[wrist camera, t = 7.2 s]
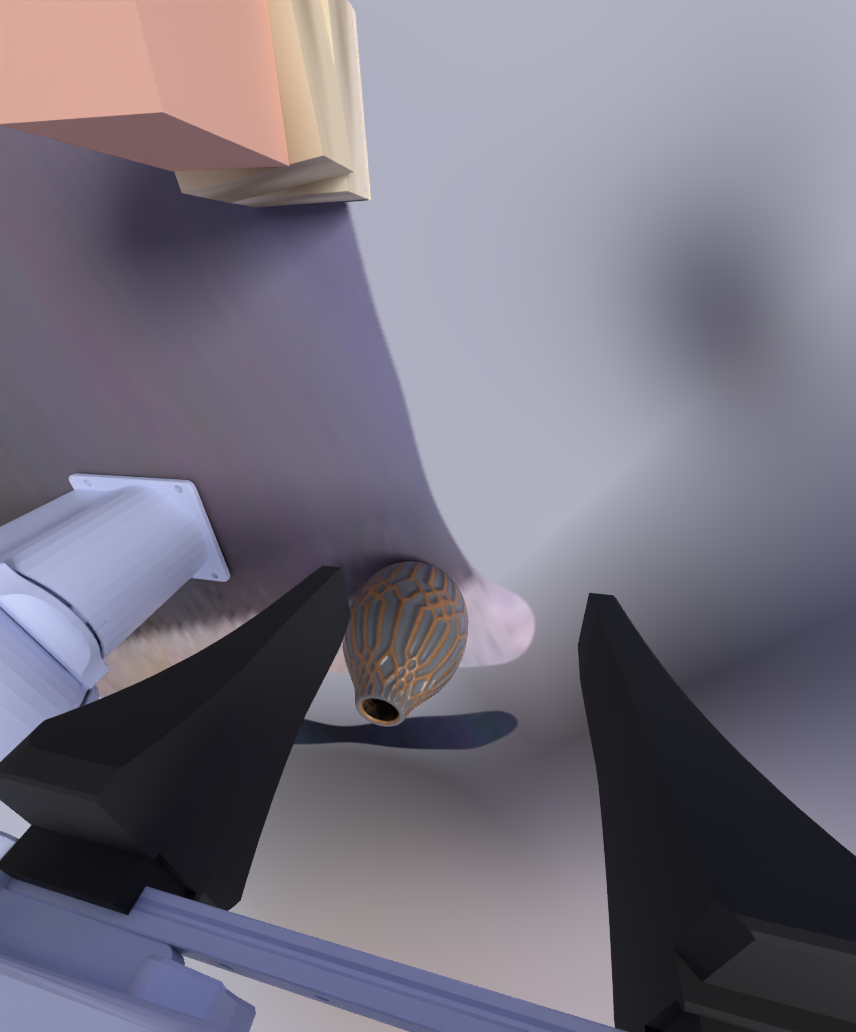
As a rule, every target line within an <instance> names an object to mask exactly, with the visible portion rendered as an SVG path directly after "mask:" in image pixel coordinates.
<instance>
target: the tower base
mask: <svg viewBox="0 0 856 1032" xmlns="http://www.w3.org/2000/svg"><path fill="white" fill-rule="evenodd" d="M322 1H323V7H324V12H325V18H326V23H327V29H328V34H329V39H330V45H331V50H332V56H333V61H334V66H335V72H336V76H337V82H338V87H339V93H340V98H341V104H342V109H343V114H344V120H345V125H346V131H347V136H348V141H349V147H350V152H351V158H352V163H353V169H354V172H352V173H348V174H344V175H340V176H336V177H332V178H328V179H324V180H320V181H316V182H312V183H308V184H304V185H300V186H296V187H292V188H288V189H284V190H280V191H276V192H272V193H268V194H264V195H260V196H256V197H252V198H248V199H244V200H240V201H236V202H232V203H235V204H240V205H245V206H250V207H268V206H282V205H296V204H310V203H324V202H337V201H347V202H355V201H369V200H371V193H370V180H369V168H368V156H367V144H366V133H365V121H364V109H363V97H362V84H361V73H360V62H359V49H358V38H357V26H356V13H355V10H354V9H353V7H352V6H351V4H349V1H348V0H322Z"/></svg>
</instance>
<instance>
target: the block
mask: <svg viewBox="0 0 856 1032" xmlns="http://www.w3.org/2000/svg"><path fill="white" fill-rule="evenodd" d="M0 125H2V126H6V127H9V128H13V129H17V130H20V131H24V132H28V133H32V134H35V135H39V136H43V137H46V138H50V139H54V140H57V141H61V142H65V143H69V144H72V145H76V146H80V147H83V148H87V149H91V150H95V151H98V152H102V153H106V154H109V155H113V156H117V157H121V158H124V159H128V160H132V161H135V162H139V163H143V164H147V165H150V166H154V167H158V168H161V169H165V170H169V171H190V170H213V169H236V168H258V167H281V166H289V158H288V151H287V144H286V137H285V129H284V122H283V115H282V108H281V100H280V93H279V86H278V78H277V71H276V64H275V57H274V49H273V42H272V35H271V28H270V20H269V13H268V6H267V0H0Z"/></svg>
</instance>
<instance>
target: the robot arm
mask: <svg viewBox="0 0 856 1032" xmlns="http://www.w3.org/2000/svg"><path fill="white" fill-rule="evenodd" d="M69 481H70V483H71V485H72V487H73V488H74V490H73V491H71V492H69V493H67V494H65V495H63V496H61V497H59V498H57V499H55V500H53V501H51V502H49V503H47V504H45V505H43V506H41V507H39V508H37V509H35V510H33V511H31V512H29V513H27V514H25V515H23V516H21V517H19V518H17V519H15V520H13V521H11V522H9V523H7V524H5V525H3V526H1V527H0V800H1V801H2V802H4V803H5V804H6V805H7V806H9V807H10V808H11V809H12V810H14V811H15V812H16V813H17V814H19V815H20V816H21V817H22V818H24V819H25V820H26V821H27V822H29V823H30V824H31V826H30V828H29V829H28V830H27V831H26V832H25V833H24V834H23V836H22V837H21V838H20V839H18V838H16V837H14V836H12V835H10V834H7V833H4V832H2V831H0V1032H249V1031H250V1028H251V1025H252V1023H253V1020H254V1017H255V1014H256V1011H255V1007H254V1006H253V1005H251V1004H249V1003H247V1002H246V1001H244V1000H242V999H241V998H239V997H237V996H236V995H234V994H233V993H232V992H230V991H229V990H228V989H226V987H225V986H224V985H223V983H222V982H221V981H219V980H216V979H214V978H211V977H209V976H207V975H205V974H202V973H200V972H198V971H196V970H193V969H191V968H188V967H186V966H185V962H184V958H183V956H186V957H189V958H192V959H195V960H198V961H201V962H204V963H207V964H210V965H213V966H216V967H219V968H222V969H225V970H228V971H231V972H234V973H237V974H240V975H243V976H245V977H249V978H252V979H255V980H257V981H260V982H263V983H266V984H269V985H272V986H275V987H278V988H281V989H284V990H287V991H290V992H293V993H296V994H299V995H302V996H305V997H308V998H311V999H314V1000H317V1001H320V1002H323V1003H326V1004H329V1005H332V1006H335V1007H338V1008H341V1009H344V1010H347V1011H350V1012H353V1013H356V1014H359V1015H362V1016H365V1017H368V1018H371V1019H374V1020H377V1021H379V1022H382V1023H385V1024H388V1025H391V1026H394V1027H397V1028H401V1029H403V1030H406V1031H409V1032H856V856H855V855H853V854H852V853H851V852H850V851H848V850H847V849H846V848H845V847H844V846H842V845H841V844H840V843H839V842H838V841H836V840H835V839H834V838H833V837H832V836H830V835H829V834H828V833H827V832H826V831H825V830H824V829H822V828H821V827H820V826H819V825H818V824H817V823H815V822H814V821H813V820H812V819H811V818H810V817H808V816H807V815H806V814H805V813H804V812H803V811H801V810H800V809H799V808H798V807H797V806H796V805H795V804H793V803H792V802H791V801H790V800H789V799H788V798H787V797H786V796H785V795H784V794H783V793H781V792H780V791H779V790H778V789H777V788H776V787H775V786H774V785H773V784H772V783H771V782H770V781H769V780H768V779H767V778H766V777H764V776H763V775H762V774H761V773H760V772H759V771H758V770H757V769H756V768H755V767H754V766H753V765H752V764H751V763H750V762H748V761H747V760H746V759H745V758H744V757H743V756H742V755H741V754H740V753H739V752H738V751H737V750H736V749H735V748H734V747H733V746H732V745H731V744H730V743H729V742H728V741H727V740H726V739H725V738H724V736H723V735H722V734H721V733H720V732H719V731H718V730H717V729H716V728H715V727H714V726H713V725H712V724H711V723H710V722H709V720H708V719H707V718H706V717H705V716H704V715H703V714H702V713H701V712H700V710H699V709H698V708H697V707H696V706H695V705H694V703H693V702H692V701H691V700H690V699H689V698H688V696H687V695H686V694H685V693H684V692H683V690H682V689H681V688H680V687H679V686H678V684H677V683H676V682H675V681H674V679H672V677H671V676H670V675H669V673H668V672H667V671H666V669H665V668H664V667H663V666H662V664H661V663H660V661H659V660H658V659H657V657H656V656H655V655H654V653H653V652H652V651H651V649H650V648H649V647H648V645H647V644H646V643H645V641H644V640H643V638H642V637H641V635H640V634H639V632H638V631H637V630H636V628H635V627H634V625H633V624H632V622H631V621H630V619H629V618H628V616H627V615H626V613H625V611H624V610H623V608H622V607H621V605H620V604H619V602H618V600H617V599H616V598H615V597H614V596H613V595H604V594H594V593H589V596H588V601H587V605H586V610H585V614H584V619H583V624H582V628H581V633H580V637H579V643H578V655H579V670H580V682H581V688H582V693H583V699H584V705H585V710H586V715H587V721H588V726H589V732H590V737H591V742H592V748H593V753H594V759H595V764H596V771H597V778H598V785H599V795H600V806H601V817H602V828H603V840H604V853H605V866H606V878H607V879H606V880H607V895H608V910H609V925H610V942H611V961H612V981H613V1003H614V1022H615V1028H613V1027H610V1026H607V1025H603V1024H600V1023H597V1022H594V1021H590V1020H587V1019H583V1018H580V1017H577V1016H574V1015H570V1014H567V1013H563V1012H560V1011H557V1010H554V1009H551V1008H547V1007H544V1006H541V1005H537V1004H534V1003H531V1002H527V1001H524V1000H521V999H517V998H514V997H511V996H507V995H504V994H501V993H498V992H494V991H490V990H488V989H484V988H481V987H478V986H474V985H471V984H468V983H464V982H461V981H458V980H454V979H451V978H448V977H444V976H441V975H438V974H434V973H431V972H428V971H425V970H421V969H418V968H415V967H412V966H408V965H405V964H401V963H398V962H394V961H392V960H388V959H385V958H382V957H378V956H375V955H372V954H368V953H365V952H362V951H359V950H355V949H352V948H349V947H345V946H342V945H339V944H335V943H332V942H329V941H325V940H322V939H319V938H315V937H312V936H309V935H306V934H302V933H299V932H296V931H292V930H289V929H286V928H282V927H279V926H275V925H272V924H269V923H266V922H263V921H259V920H256V919H253V918H249V917H246V916H243V915H239V914H236V913H233V912H229V911H228V910H230V909H231V908H232V907H234V906H235V905H236V904H237V903H238V902H239V901H240V900H241V897H242V894H243V890H244V887H245V883H246V880H247V877H248V874H249V870H250V867H251V864H252V860H253V857H254V854H255V851H256V848H257V845H258V841H259V838H260V835H261V832H262V829H263V826H264V823H265V821H266V818H267V815H268V812H269V809H270V806H271V802H272V800H273V797H274V794H275V791H276V789H277V786H278V783H279V780H280V778H281V775H282V772H283V770H284V767H285V764H286V762H287V759H288V756H289V754H290V751H291V749H292V746H293V744H294V741H295V739H296V736H297V734H298V731H299V729H300V726H301V724H302V722H303V720H304V718H305V715H306V713H307V711H308V709H309V707H310V705H311V703H312V701H313V699H314V697H315V695H316V693H317V692H318V690H319V688H320V686H321V684H322V682H323V680H324V678H325V676H326V674H327V672H328V670H329V668H330V666H331V664H332V662H333V660H334V658H335V656H336V654H337V652H338V650H339V648H340V646H341V643H342V640H343V638H344V635H345V632H346V629H347V626H348V623H349V620H350V617H351V614H350V609H349V604H348V599H347V594H346V589H345V584H344V579H343V574H342V569H341V568H340V567H330V566H322V567H321V568H319V569H318V570H316V571H315V572H314V573H312V574H311V575H310V576H308V577H307V578H306V579H304V580H303V581H302V582H301V583H299V584H298V585H297V586H295V587H294V588H293V589H292V590H290V591H289V592H288V593H286V594H285V595H284V596H282V597H281V598H280V599H278V600H277V601H276V602H274V603H273V604H272V605H270V606H269V607H268V608H266V609H265V610H263V611H262V612H260V613H259V614H258V615H256V616H255V617H253V618H252V619H250V620H249V621H247V622H246V623H245V624H243V625H242V626H240V627H239V628H237V629H236V630H234V631H233V632H231V633H230V634H228V635H226V636H225V637H223V638H222V639H220V640H218V641H217V642H215V643H213V644H212V645H210V646H208V647H207V648H205V649H203V650H201V651H200V652H198V653H196V654H194V655H193V656H191V657H189V658H187V659H185V660H183V661H181V662H179V663H177V664H175V665H173V666H171V667H169V668H167V669H165V670H163V671H162V672H160V673H158V674H156V675H154V676H151V677H149V678H147V679H145V680H143V681H141V682H139V683H136V684H134V685H132V686H130V687H127V688H125V689H123V690H120V691H118V692H116V693H114V694H111V695H109V696H106V697H104V698H102V699H99V691H98V689H97V687H96V686H95V684H96V683H97V682H98V681H99V680H100V679H101V678H102V677H103V676H105V675H106V674H107V673H108V672H109V671H110V669H109V667H108V666H107V665H106V664H105V662H104V661H103V659H105V658H106V657H107V656H108V655H109V654H110V653H111V652H112V651H113V650H114V649H115V648H116V647H117V646H118V645H120V644H121V643H122V642H123V641H124V640H125V639H126V638H127V637H128V636H129V635H130V634H131V633H132V632H133V631H135V630H136V629H137V628H138V627H139V626H140V625H141V624H142V623H143V622H144V621H145V620H146V619H147V618H148V617H150V616H151V615H152V614H153V613H154V612H155V611H156V610H157V609H158V608H159V607H160V606H161V605H162V604H164V603H165V602H166V601H167V600H168V599H169V598H170V597H171V596H172V595H173V594H174V593H175V592H176V591H177V590H179V589H180V588H181V587H182V586H183V585H184V584H185V583H186V582H187V581H188V580H189V579H190V578H196V579H205V580H213V581H222V582H226V581H227V580H228V579H229V578H230V573H229V570H228V568H227V565H226V563H225V560H224V558H223V555H222V553H221V550H220V547H219V545H218V542H217V540H216V537H215V535H214V532H213V530H212V527H211V524H210V522H209V519H208V517H207V514H206V512H205V509H204V507H203V504H202V501H201V499H200V496H199V494H198V491H197V489H196V486H195V485H194V484H193V483H192V482H191V481H188V480H179V479H162V478H145V477H129V476H112V475H96V474H79V473H76V474H73V475H71V476H69ZM180 487H181V488H180ZM182 955H183V956H182Z"/></svg>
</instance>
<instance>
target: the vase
mask: <svg viewBox="0 0 856 1032" xmlns="http://www.w3.org/2000/svg"><path fill="white" fill-rule="evenodd" d="M350 614H351V617H350V620H349V623H348V626H347V629H346V632H345V635H344V638H343V652H344V657H345V662H346V665H347V668H348V671H349V674H350V677H351V679H352V682H353V685H354V688H355V704H356V708H357V711H358V712H359V714H360V715H361V716H362V717H364V718H365V719H366V720H368V721H370V722H372V723H374V724H377V725H381V726H396V725H398V724H400V723H401V722H403V721H404V719H405V718H406V717H407V715H408V714H409V713H410V712H411V711H412V710H413V709H414V708H415V707H417V706H418V705H420V704H421V703H423V702H425V701H426V700H428V699H429V698H431V697H432V696H434V695H435V694H436V693H438V692H439V691H440V690H441V689H442V688H443V687H444V686H445V685H446V684H447V683H448V682H449V680H450V679H451V678H452V676H453V675H454V673H455V671H456V670H457V668H458V666H459V664H460V662H461V659H462V657H463V654H464V651H465V647H466V642H467V635H468V616H467V609H466V605H465V601H464V599H463V596H462V594H461V592H460V590H459V588H458V587H457V585H456V584H455V583H454V581H453V580H452V579H451V578H450V577H449V576H448V575H447V574H445V573H444V572H443V571H441V570H440V569H438V568H436V567H434V566H432V565H429V564H426V563H422V562H416V561H406V562H399V563H395V564H392V565H389V566H387V567H385V568H383V569H382V570H380V571H378V572H377V573H376V574H375V575H373V576H372V577H371V578H370V579H369V580H368V581H367V582H366V583H365V584H364V585H363V587H362V588H361V589H360V591H359V592H358V594H357V595H356V597H355V599H354V601H353V602H352V605H351V607H350Z"/></svg>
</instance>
